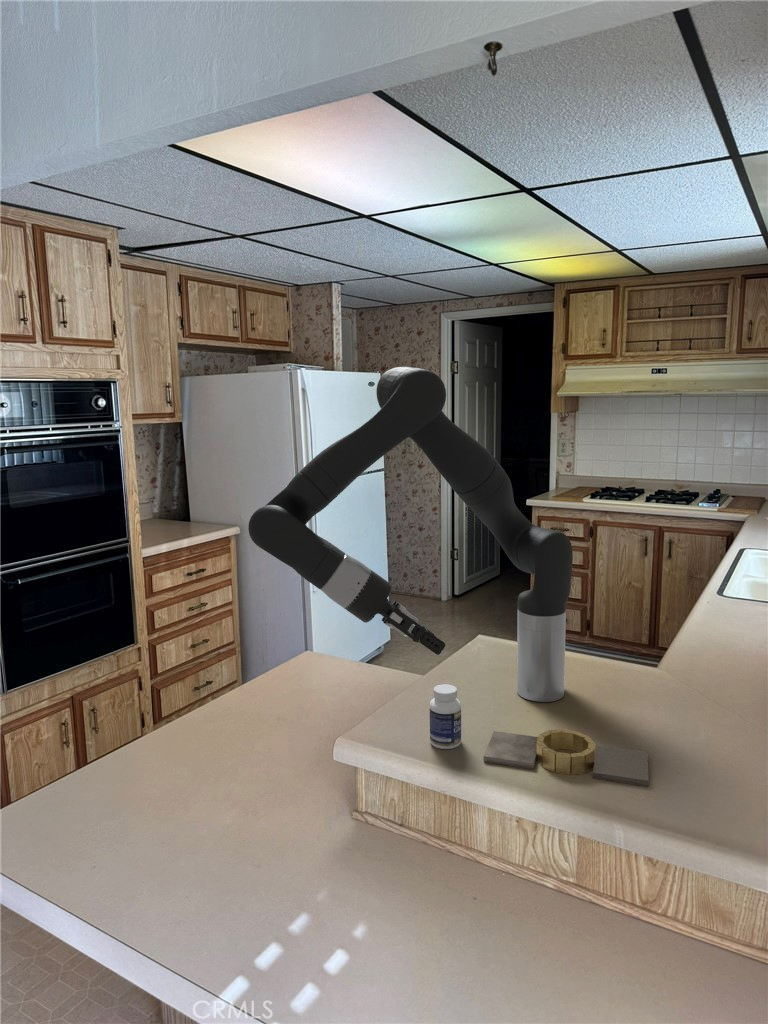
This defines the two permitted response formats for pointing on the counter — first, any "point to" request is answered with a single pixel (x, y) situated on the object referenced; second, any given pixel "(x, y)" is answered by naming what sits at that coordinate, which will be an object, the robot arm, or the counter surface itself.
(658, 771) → the counter surface
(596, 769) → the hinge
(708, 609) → the counter surface
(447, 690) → the pill bottle
